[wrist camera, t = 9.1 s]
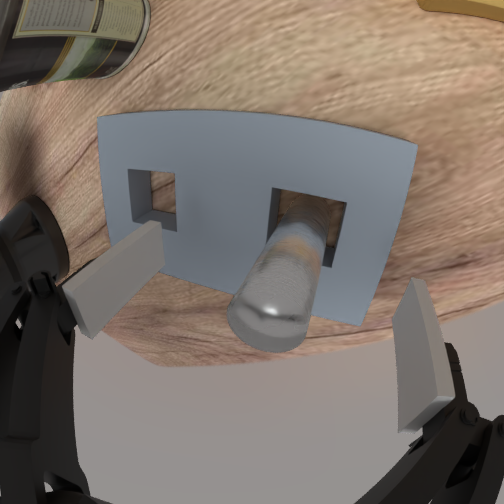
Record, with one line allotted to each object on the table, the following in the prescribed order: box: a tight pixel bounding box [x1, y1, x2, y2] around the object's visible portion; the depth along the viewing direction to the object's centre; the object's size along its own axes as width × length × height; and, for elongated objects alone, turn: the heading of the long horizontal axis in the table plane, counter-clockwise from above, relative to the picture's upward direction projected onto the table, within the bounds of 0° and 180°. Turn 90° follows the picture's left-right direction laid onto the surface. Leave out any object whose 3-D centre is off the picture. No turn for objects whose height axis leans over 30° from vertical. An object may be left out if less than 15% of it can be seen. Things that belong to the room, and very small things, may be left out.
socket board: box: [97, 109, 418, 326], centre depth 20 cm, size 24×14×3 cm, turn 86°
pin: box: [227, 194, 331, 353], centre depth 15 cm, size 3×3×12 cm
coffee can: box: [0, 0, 150, 92], centre depth 11 cm, size 10×10×14 cm
